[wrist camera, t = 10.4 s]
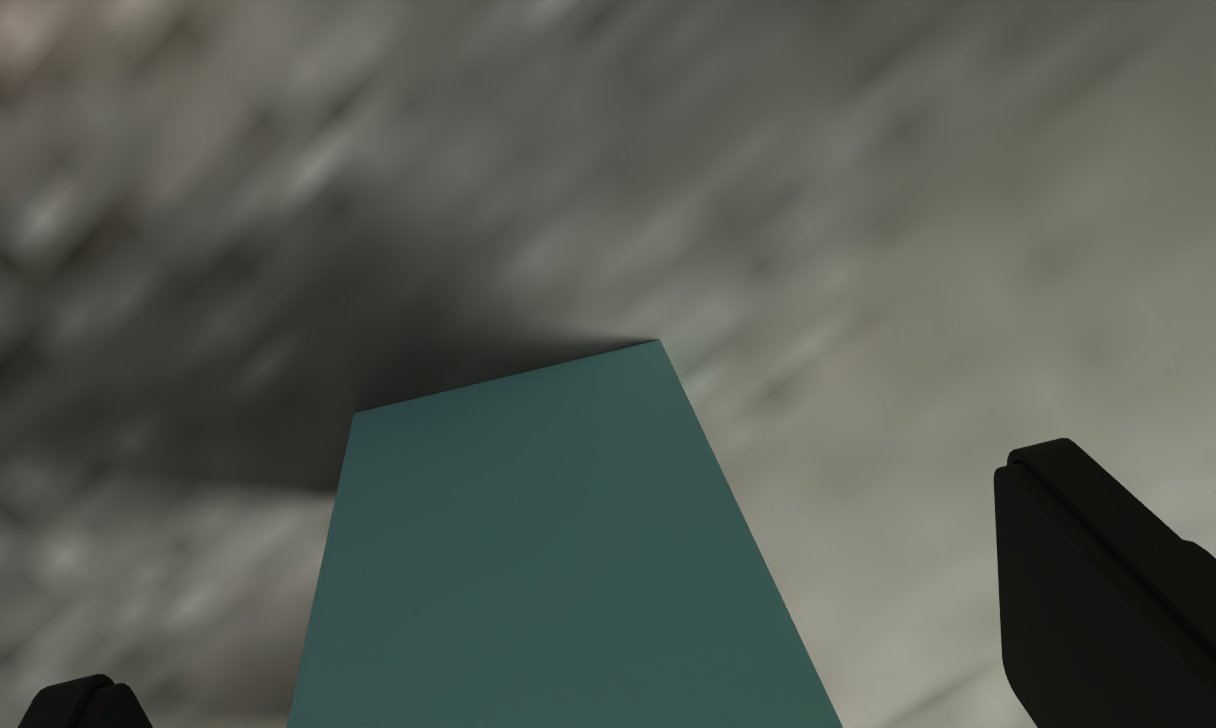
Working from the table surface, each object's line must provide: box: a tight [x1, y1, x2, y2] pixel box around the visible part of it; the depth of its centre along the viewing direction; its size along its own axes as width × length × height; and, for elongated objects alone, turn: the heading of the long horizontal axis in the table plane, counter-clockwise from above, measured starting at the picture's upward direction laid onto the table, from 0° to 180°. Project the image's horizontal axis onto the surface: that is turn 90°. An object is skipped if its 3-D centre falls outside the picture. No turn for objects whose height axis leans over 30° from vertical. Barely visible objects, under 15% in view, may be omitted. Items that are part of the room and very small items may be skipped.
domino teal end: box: [287, 340, 843, 728], centre depth 12 cm, size 2×5×9 cm, turn 102°
